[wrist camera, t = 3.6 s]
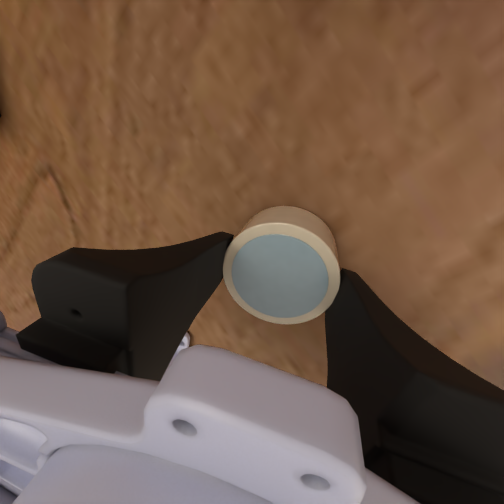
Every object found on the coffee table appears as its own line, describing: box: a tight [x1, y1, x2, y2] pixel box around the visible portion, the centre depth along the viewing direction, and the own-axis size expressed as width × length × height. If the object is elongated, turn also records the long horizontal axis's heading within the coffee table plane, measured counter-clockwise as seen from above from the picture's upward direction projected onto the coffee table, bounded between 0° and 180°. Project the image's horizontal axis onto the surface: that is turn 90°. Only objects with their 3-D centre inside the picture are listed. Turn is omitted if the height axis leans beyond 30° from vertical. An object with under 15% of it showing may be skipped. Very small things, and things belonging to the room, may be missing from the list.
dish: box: [223, 206, 341, 324], centre depth 12 cm, size 5×5×3 cm
